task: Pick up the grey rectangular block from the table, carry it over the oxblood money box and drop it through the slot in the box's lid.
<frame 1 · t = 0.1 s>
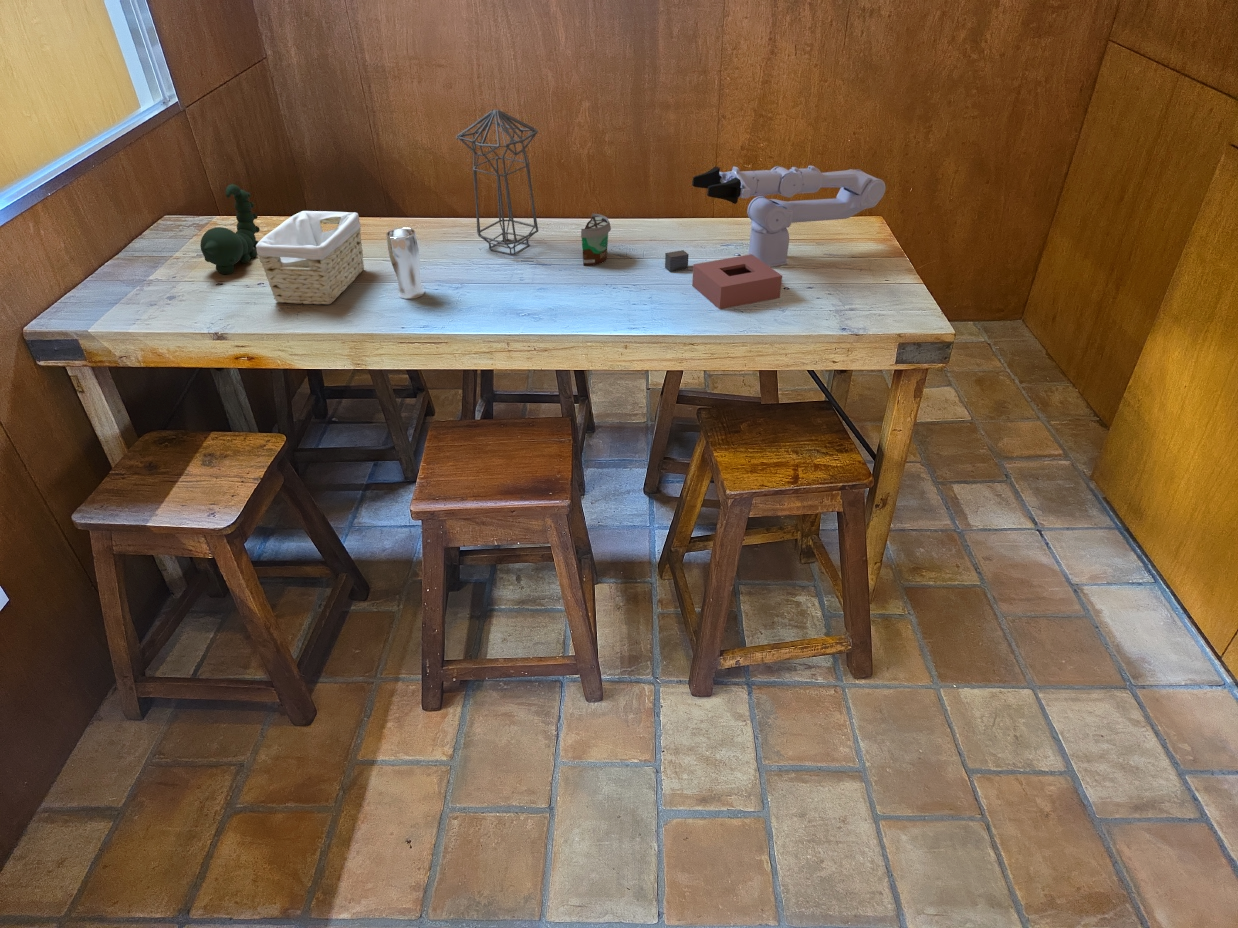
hand: (700, 186, 183), 22 cm above the table, tool horizontal, fingers open, 7 cm apart
food container: (599, 260, 204), on the table
money box: (735, 291, 188), on the table
toy figurine: (238, 264, 203), on the table
grey rectangular block: (676, 268, 199), on the table
storage basket: (323, 287, 192), on the table
geometric lantern: (508, 250, 210), on the table
beer glass: (411, 294, 188), on the table
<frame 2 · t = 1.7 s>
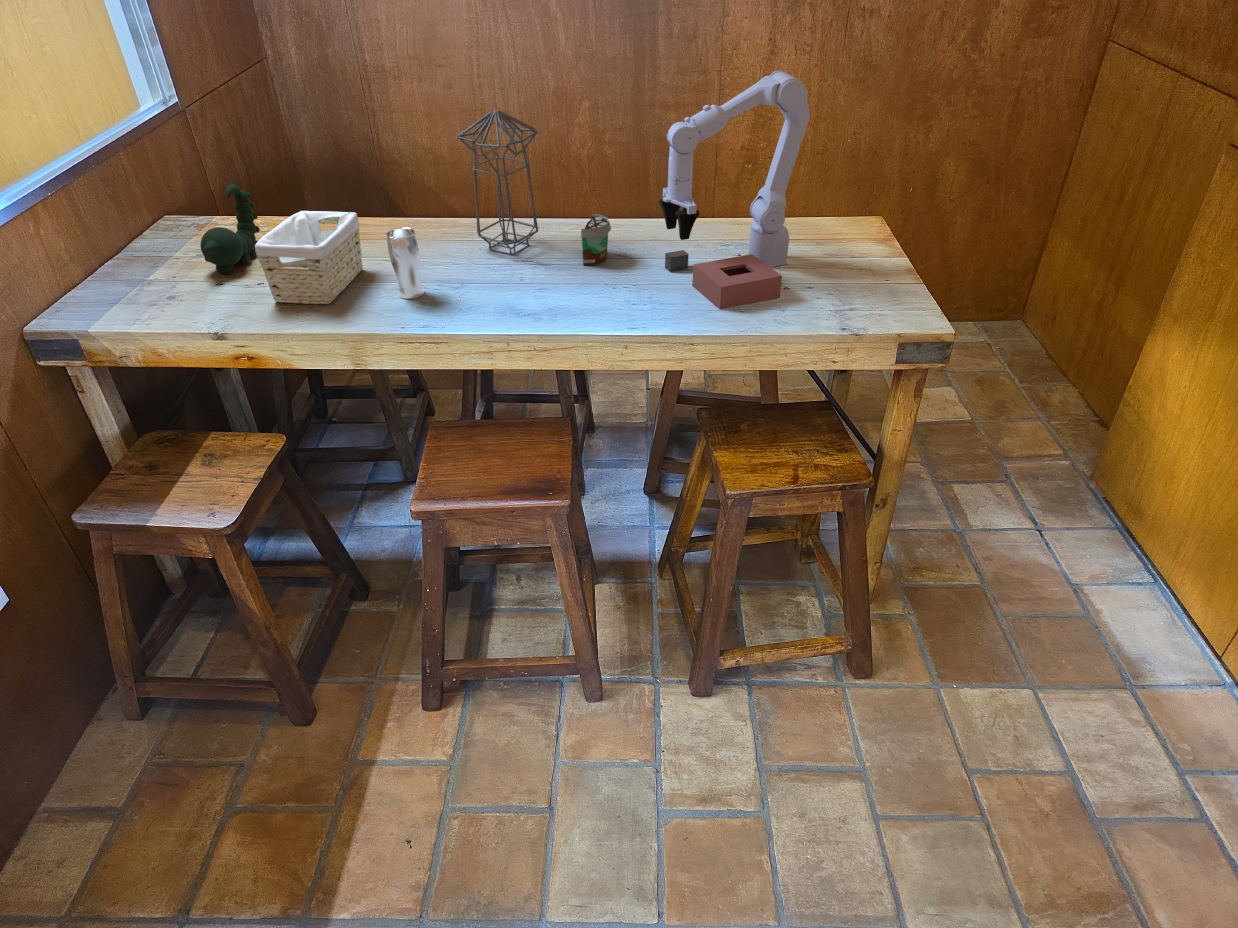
hand: (677, 233, 194), 9 cm above the table, tool pointing down, fingers open, 7 cm apart
nothing on the table moved.
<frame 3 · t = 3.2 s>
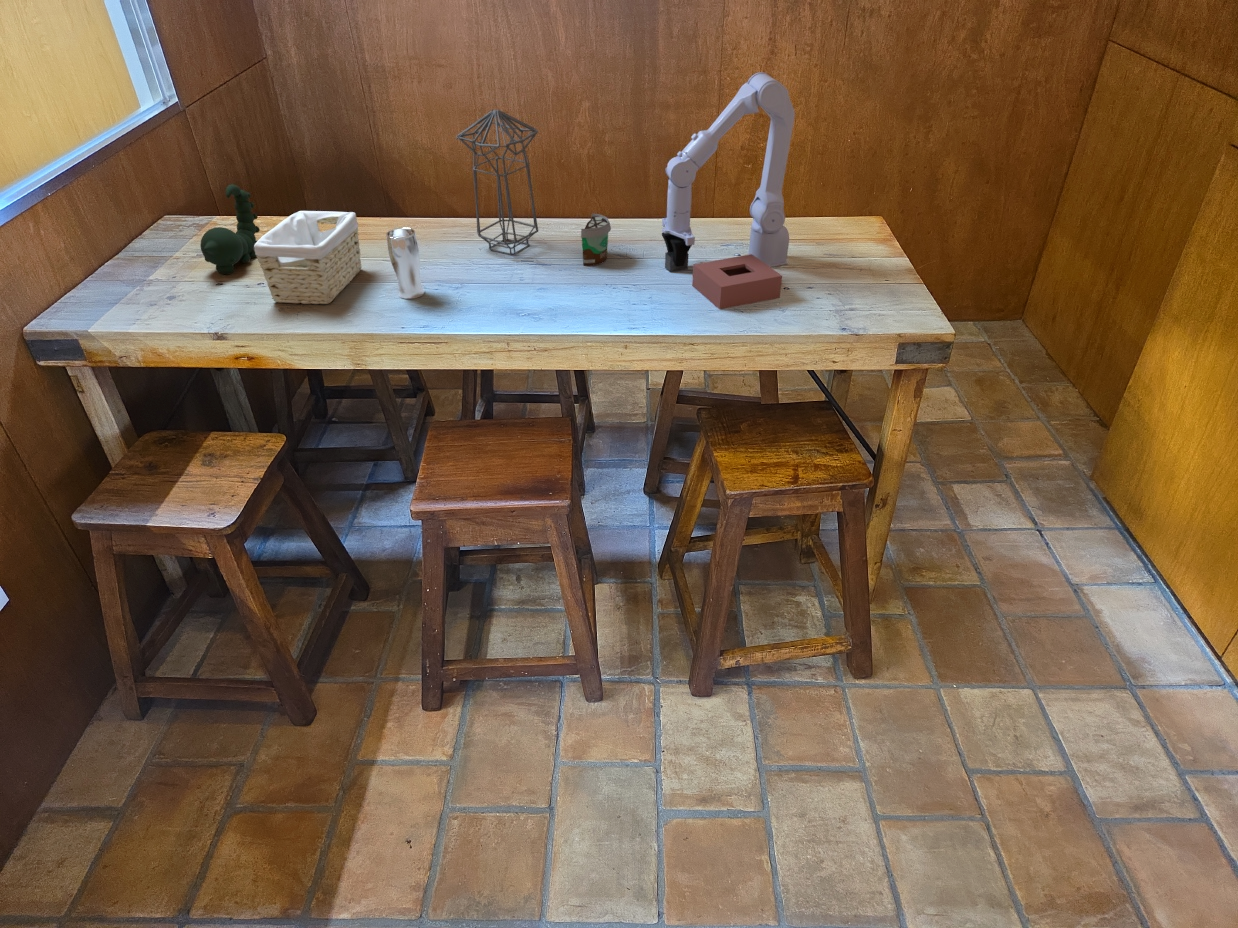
hand: (676, 263, 198), 1 cm above the table, tool pointing down, fingers closed on grey rectangular block, 3 cm apart
grey rectangular block: (676, 268, 199), on the table, touching gripper
everything else where it was.
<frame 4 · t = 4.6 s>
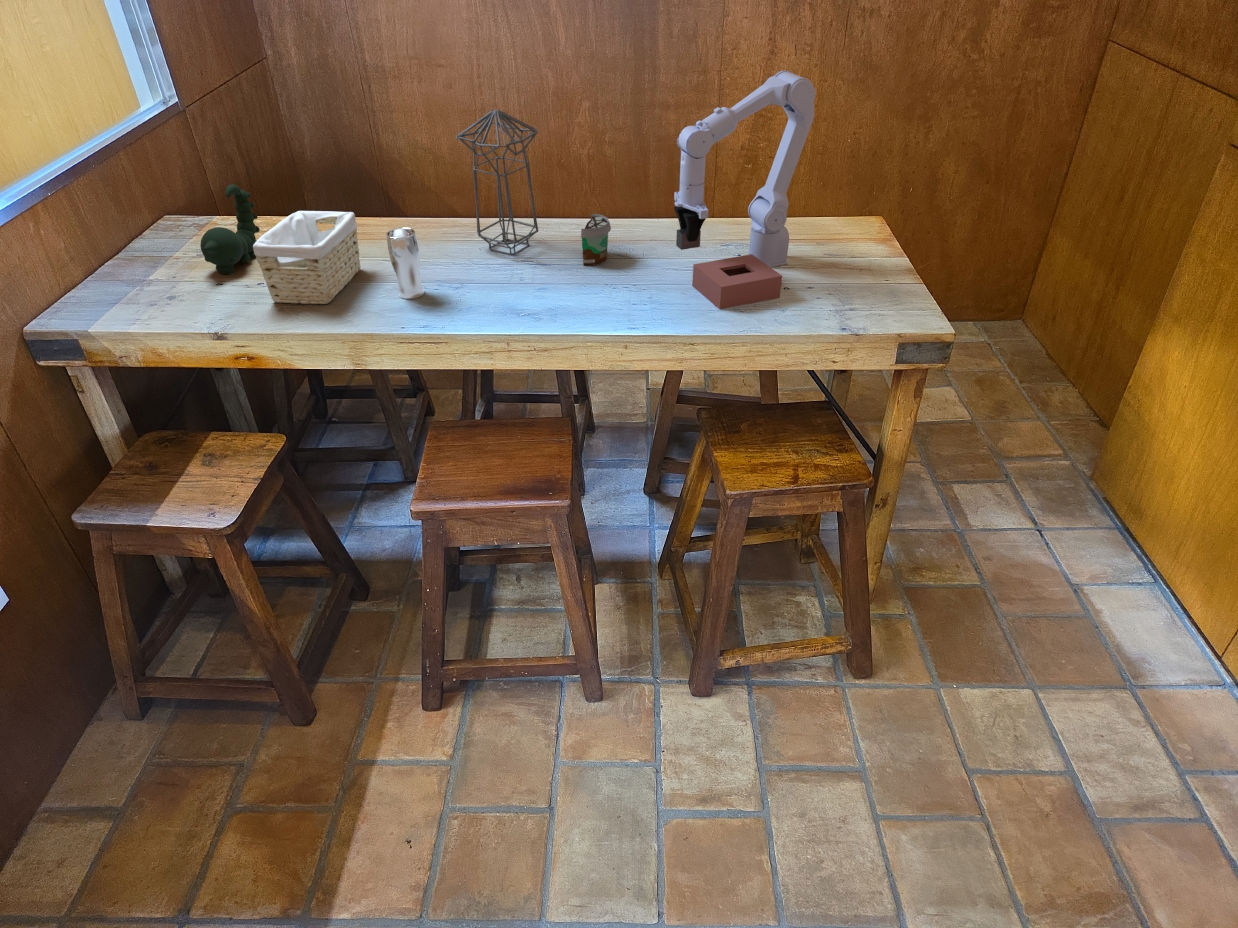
hand: (689, 238, 192), 9 cm above the table, tool pointing down, fingers closed on grey rectangular block, 3 cm apart
grey rectangular block: (688, 246, 193), point 7 cm above the table, touching gripper
everything else where it was.
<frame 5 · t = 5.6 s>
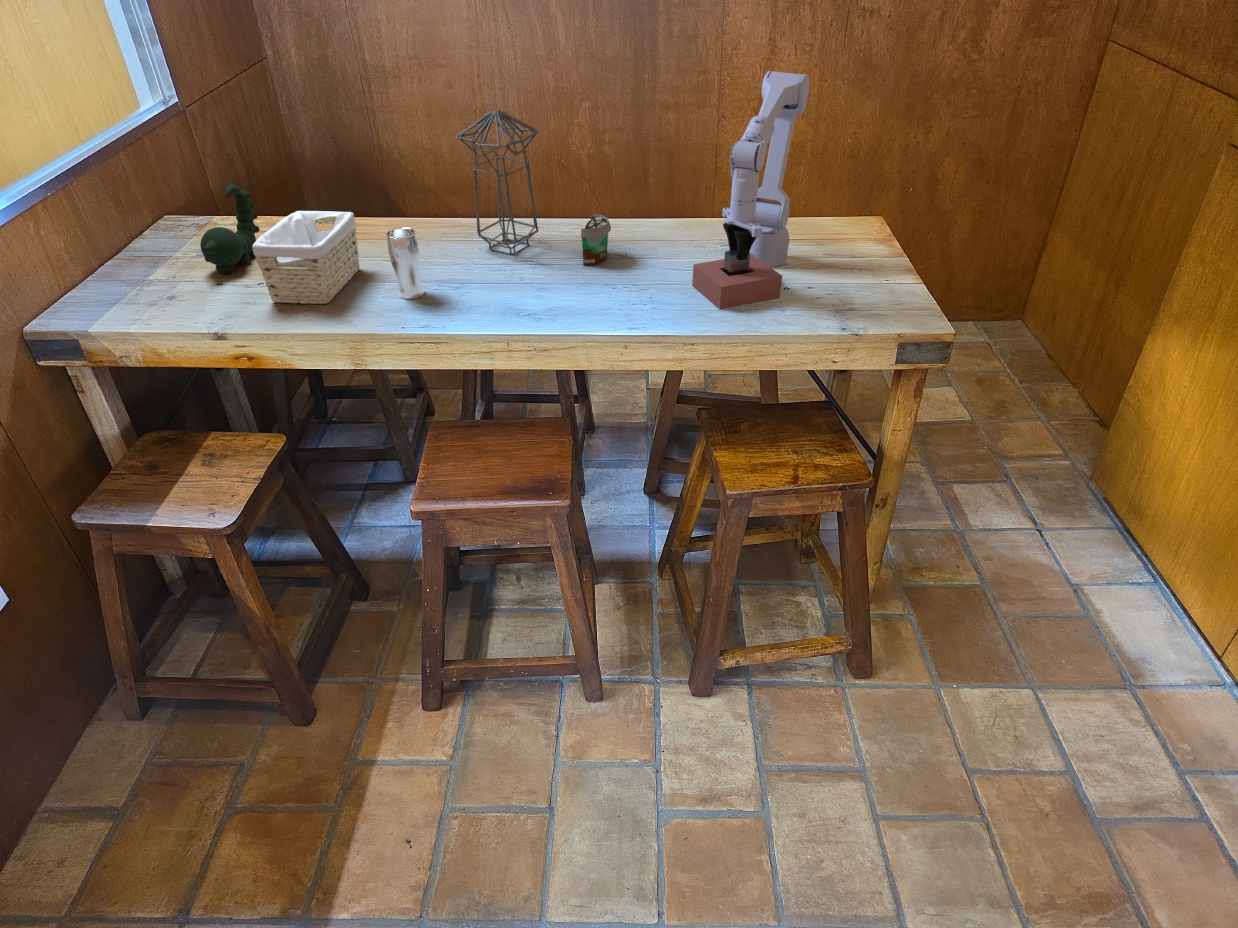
hand: (738, 256, 183), 9 cm above the table, tool pointing down, fingers closed on grey rectangular block, 3 cm apart
grey rectangular block: (736, 268, 184), point 6 cm above the table, touching gripper
when the fingers open (8 cm above the table, at t = 6.2 s): grey rectangular block drops 5 cm, resting in money box.
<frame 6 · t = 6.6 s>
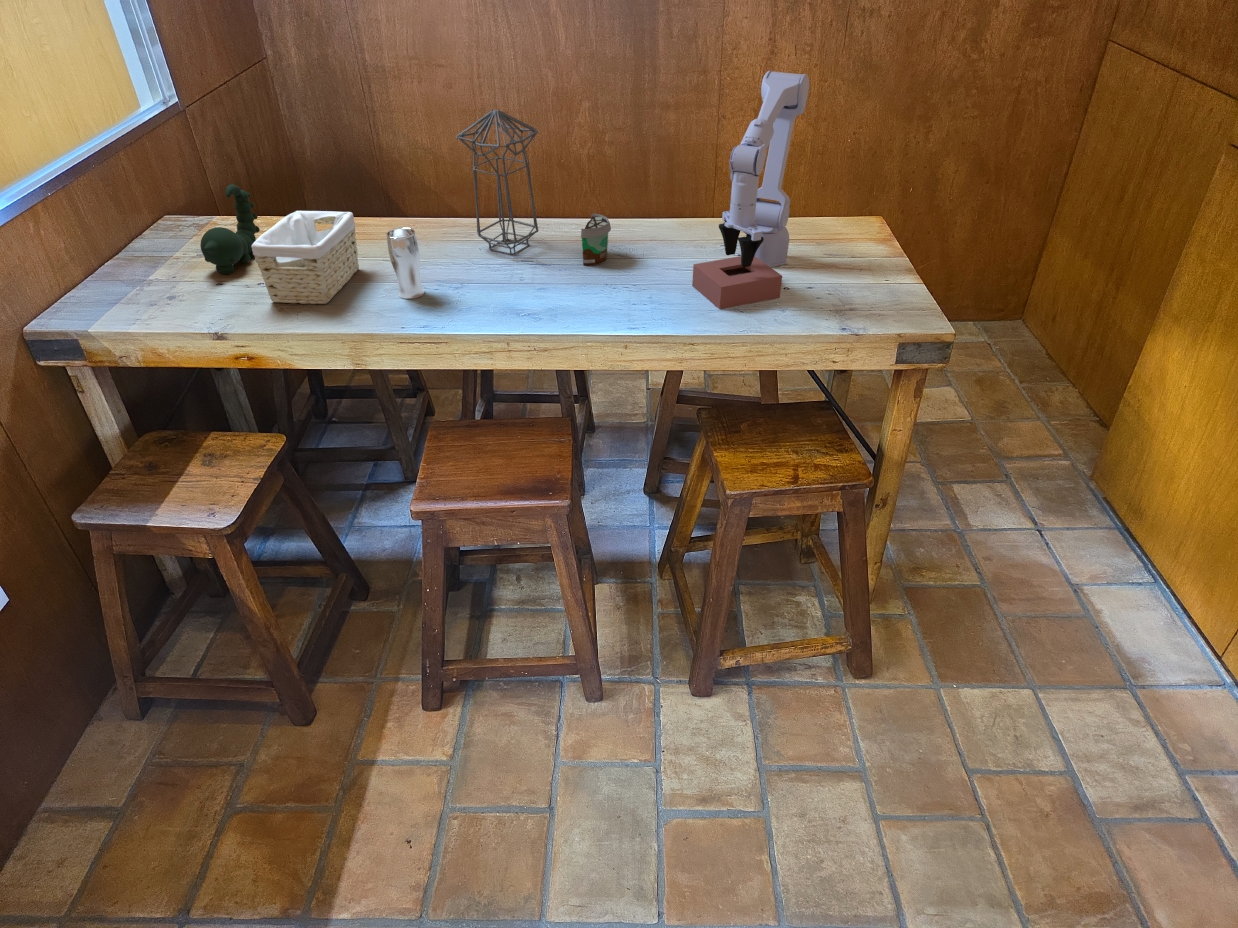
hand: (738, 260, 183), 8 cm above the table, tool pointing down, fingers open, 7 cm apart
grey rectangular block: (734, 292, 188), resting in money box
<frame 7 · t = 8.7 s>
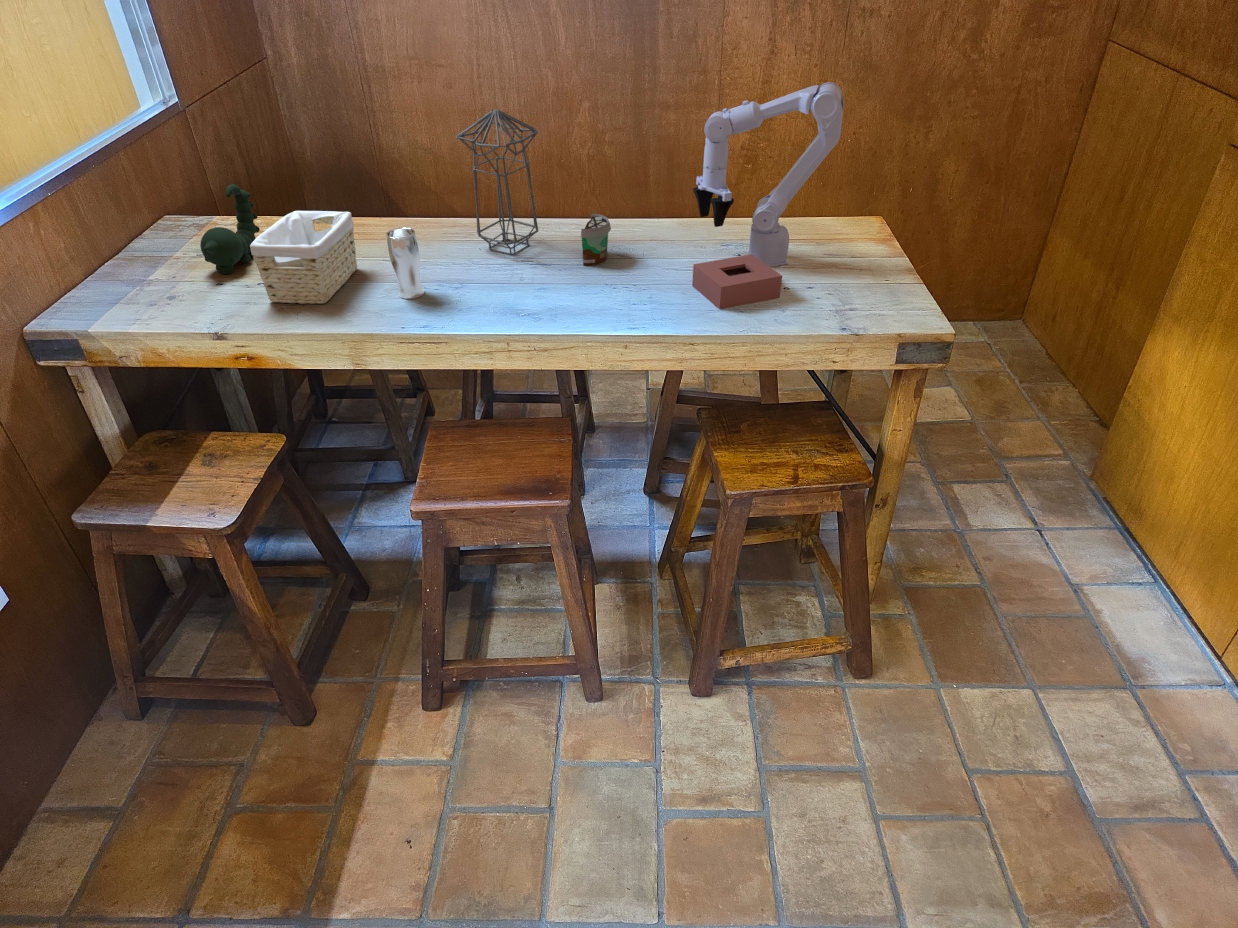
hand: (711, 221, 199), 10 cm above the table, tool pointing down, fingers open, 7 cm apart
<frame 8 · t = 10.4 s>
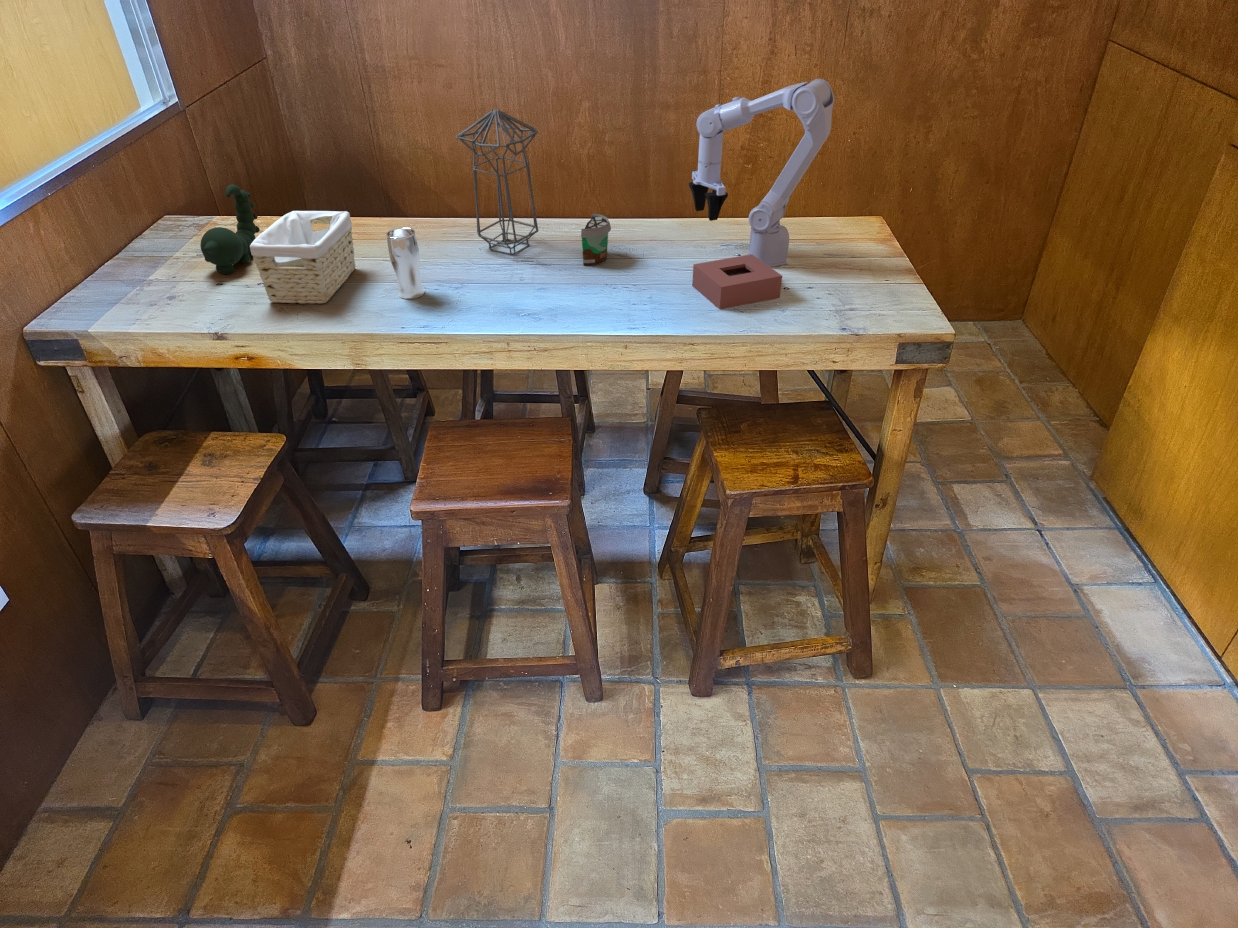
hand: (706, 215, 203), 9 cm above the table, tool pointing down, fingers open, 7 cm apart
at the end: grey rectangular block inside the target area on the money box (0.2 cm from its centre), point 0.0 cm above the money box's base; the gripper is holding nothing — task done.
